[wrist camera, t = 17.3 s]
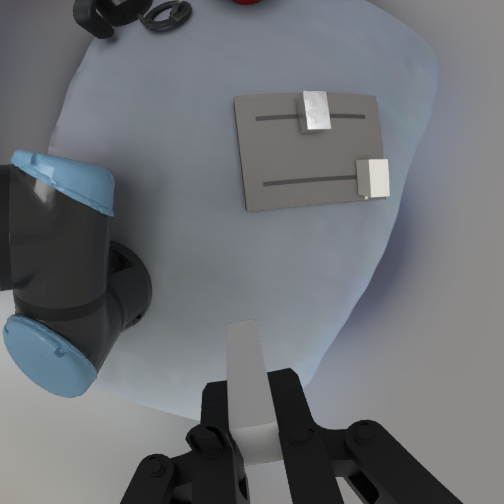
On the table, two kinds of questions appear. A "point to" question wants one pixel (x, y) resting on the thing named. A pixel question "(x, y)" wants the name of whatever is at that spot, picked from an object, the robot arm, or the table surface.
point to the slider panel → (304, 150)
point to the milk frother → (124, 14)
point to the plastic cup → (246, 1)
